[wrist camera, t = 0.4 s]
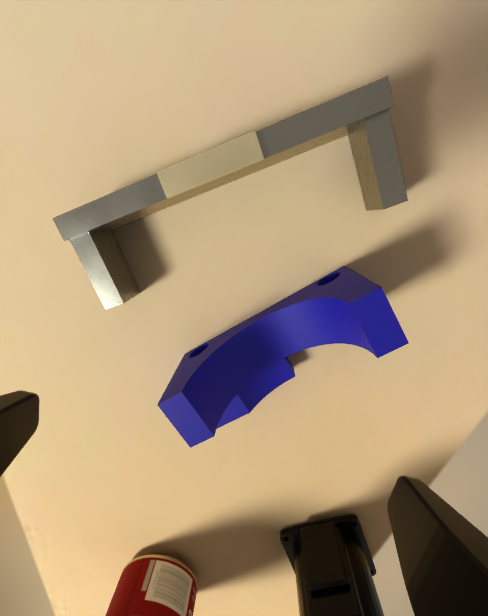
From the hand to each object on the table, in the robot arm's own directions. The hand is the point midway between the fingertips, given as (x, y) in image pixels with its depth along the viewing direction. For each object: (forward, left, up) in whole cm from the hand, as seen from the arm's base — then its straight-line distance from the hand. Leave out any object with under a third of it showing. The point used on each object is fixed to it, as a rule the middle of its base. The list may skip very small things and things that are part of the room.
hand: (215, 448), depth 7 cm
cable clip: (-3, -1, -13) cm, 14 cm away
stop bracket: (+6, -1, -13) cm, 14 cm away
